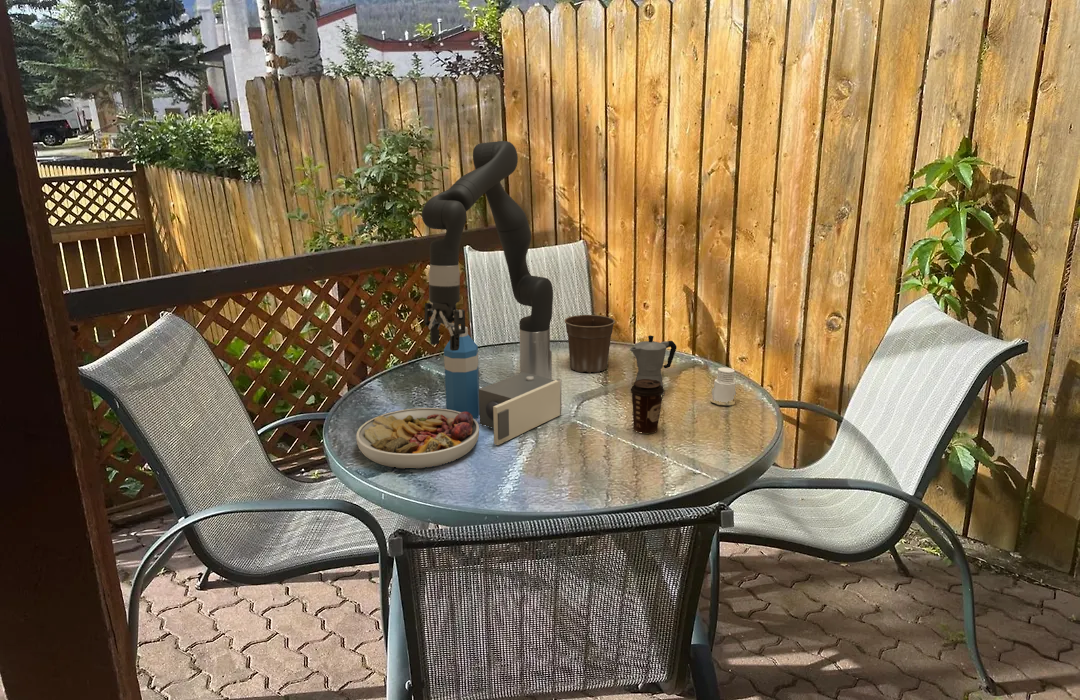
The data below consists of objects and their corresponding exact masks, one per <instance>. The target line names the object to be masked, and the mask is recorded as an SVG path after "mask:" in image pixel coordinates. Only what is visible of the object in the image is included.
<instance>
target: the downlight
mask: <svg viewBox="0 0 1080 700" xmlns="http://www.w3.org/2000/svg"><path fill="white" fill-rule="evenodd" d="M716 375H717V378H716V379H714V384H713V385H714V386H713V387H712V388H711V396H712V398H713V400H714V401H715V400H716V401H719V402H720V401H721V402H728V401H731V400H733V399H735V398H734V395H735V396H737V392H736V381H735V379H734V378H735V369H733V368H730V367H718V368H717V374H716ZM712 398H711V399H712Z"/></svg>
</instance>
